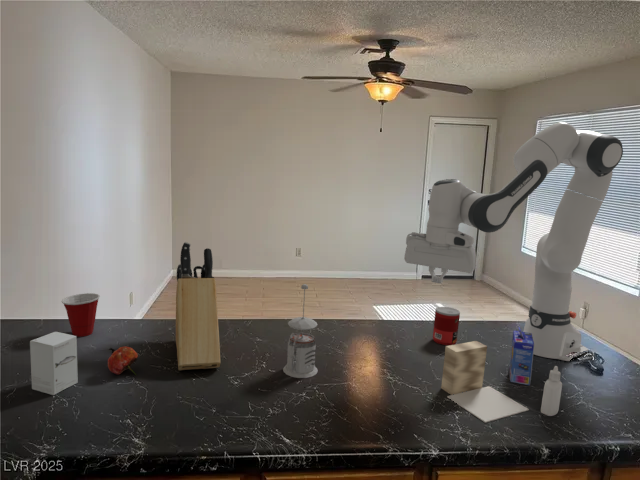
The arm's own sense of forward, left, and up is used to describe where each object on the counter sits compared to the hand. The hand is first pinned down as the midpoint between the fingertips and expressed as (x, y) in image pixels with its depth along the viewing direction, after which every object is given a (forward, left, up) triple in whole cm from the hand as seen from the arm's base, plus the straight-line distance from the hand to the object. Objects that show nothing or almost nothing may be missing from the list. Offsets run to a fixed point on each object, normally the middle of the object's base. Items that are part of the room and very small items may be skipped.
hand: (436, 282), depth 141 cm
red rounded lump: (+83, -25, -25) cm, 90 cm away
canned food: (-17, -12, -25) cm, 33 cm away
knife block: (+62, -34, -25) cm, 75 cm away
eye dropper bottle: (-10, +34, -25) cm, 44 cm away
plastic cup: (+92, -58, -25) cm, 112 cm away
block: (+2, +16, -25) cm, 30 cm away
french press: (+39, -9, -25) cm, 47 cm away
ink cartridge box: (-19, +17, -25) cm, 36 cm away
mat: (+2, +25, -25) cm, 35 cm away
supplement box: (+99, -23, -25) cm, 105 cm away
